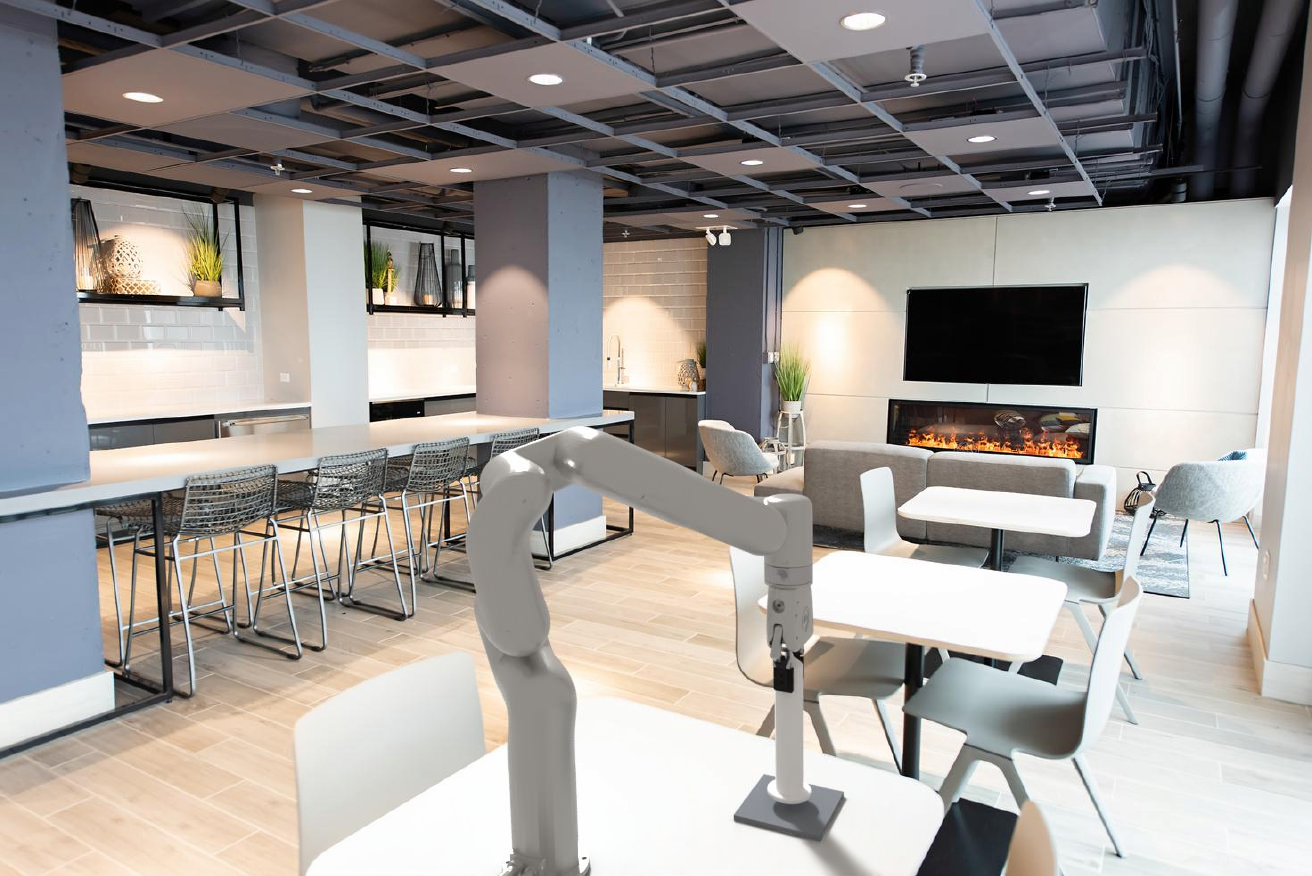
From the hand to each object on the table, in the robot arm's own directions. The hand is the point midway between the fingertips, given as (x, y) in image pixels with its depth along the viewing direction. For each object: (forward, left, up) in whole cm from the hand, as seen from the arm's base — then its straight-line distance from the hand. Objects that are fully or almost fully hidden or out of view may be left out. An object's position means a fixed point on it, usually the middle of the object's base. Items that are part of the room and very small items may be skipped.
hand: (788, 683), depth 136 cm
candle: (0, 0, -19) cm, 19 cm away
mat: (0, 0, -21) cm, 21 cm away
